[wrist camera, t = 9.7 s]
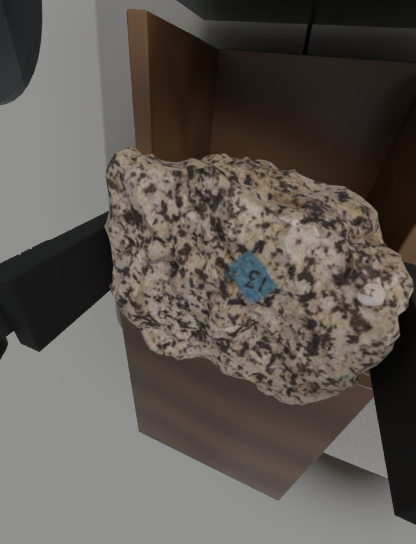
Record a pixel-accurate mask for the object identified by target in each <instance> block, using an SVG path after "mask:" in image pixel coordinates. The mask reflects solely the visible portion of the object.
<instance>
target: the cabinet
mask: <svg viewBox="0 0 416 544" xmlns="http://www.w3.org/2000/svg"><path fill="white" fill-rule="evenodd" d="M119 309H120V308H119ZM120 316H121V322H122V328H123V334H124V340H125V347H126V353H127V360H128V366H129V371H130V378H131V385H132V391H133V397H134V403H135V410H136V416H137V422H138V428H139V432H141V433H143V434H145V435H147V436H149V437H151V438H153V439H155V440H157V441H159V442H161V443H163V444H165V445H167V446H169V447H171V448H173V449H175V450H177V451H179V452H181V453H183V454H185V455H187V456H189V457H191V458H193V459H196V460H197V461H199V462H201V463H204V464H206V465H207V466H210V467H212V468H214V469H216V470H218V471H220V472H222V473H224V474H226V475H228V476H230V477H232V478H234V479H236V480H238V481H240V482H242V483H244V484H246V485H248V486H250V487H252V488H254V489H256V490H258V491H260V492H262V493H264V494H266V495H268V496H270V497H272V498H274V499H276V500H279V499H280V498H281V497H282V496H283V495H284V494H285V493H286V492H287V491H288V490H289V489H290V487H291V486H292V485H293V484H294V483H295V482H296V481H297V480H298V479H299V478H300V476H301V475H302V474H303V473H304V472H305V471H306V470H307V469H308V468H309V467H310V466H311V465H312V463H313V462H314V461H315V460H316V459H317V458H318V457H319V456H320V455H321V454H322V453H323V452H324V450H325V449H326V448H327V447H328V446H329V445H330V444H331V443H332V442H333V441H334V440H335V439H336V437H337V436H338V435H339V434H340V433H341V432H342V431H343V430H344V429H345V428H346V427H347V425H348V424H349V423H350V422H351V421H352V420H353V419H354V418H355V417H356V416H357V415H358V414H359V412H360V411H361V410H362V409H363V408H364V407H365V406H366V405H367V404H368V403H369V402H370V400H371V399H372V398H373V397H374V394H373V389H372V383H371V377H370V372H369V370H366V371H364V372H362V373H360V374H358V385H357V386H356V387H353V388H351V389H348V390H346V391H344V392H342V393H341V394H339V395H335V396H332V397H330V398H327V399H326V400H325V401H324V402H323V403H317V402H312V403H306V404H304V405H299V404H293V405H290V404H286V403H283V402H280V401H279V400H278V399H276V398H275V397H274V396H273V395H265V394H264V393H263V392H261V391H260V390H258V388H257V385H256V384H255V383H253V382H251V381H249V380H246V379H240V378H236V377H232V376H229V375H226V374H223V373H222V372H221V371H220V370H219V368H218V367H217V366H216V365H215V364H214V363H213V362H212V361H211V360H210V359H208V358H202V357H196V358H194V359H181V360H179V361H178V360H177V359H175V358H174V357H172V356H166V355H165V354H161V355H159V354H157V353H155V352H153V351H151V350H150V349H149V347H148V345H147V343H146V342H145V340H144V338H143V335H142V333H141V331H140V330H138V329H136V326H135V325H133V324H132V323H131V322H130V321H129V320H128V319H127V318H126V317H125V316H124V315H123V313H122V311H121V310H120Z"/></svg>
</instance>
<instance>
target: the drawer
mask: <svg viewBox="0 0 416 544" xmlns="http://www.w3.org/2000/svg"><path fill="white" fill-rule="evenodd" d="M177 1H178V2H180V3H181V4H182V5H184V6H185V7H187V8H188V9H189V10H191V11H192V12H194V13H195V14H196V15H198V16H199V17H201V18H202V19H203V20H216V21H241V22H266V23H292V24H317V25H342V26H368V27H393V28H416V0H177ZM127 24H128V39H129V53H130V67H131V82H132V96H133V110H134V125H135V139H136V149H137V150H138V151H139V152H140V153H141V154H143V155H149V154H153V155H154V156H155V157H156V158H158V159H160V160H164V161H169V162H180V161H185V160H189V159H190V158H194V159H197V160H200V159H202V158H204V157H206V156H208V155H213V154H219V155H221V154H223V153H224V154H226V155H228V156H230V157H232V158H237V159H243V158H245V157H246V156H247V157H248V158H249V159H251V160H252V161H253V162H254V161H256V160H265V161H268V162H271V163H272V164H273V165H274V166H275V167H277V168H278V169H279V170H284V171H287V170H293V169H295V170H296V172H297V173H298V174H300V175H302V176H305V177H307V178H309V179H311V180H314V181H317V182H321V183H325V184H329V185H335V186H345V187H346V188H347V189H348V190H350V191H352V192H354V193H355V194H357V195H359V196H361V197H362V198H363V199H364V200H366V201H367V202H368V203H369V204H370V205H371V206H372V207H373V208H374V209H375V210H376V211H377V212H378V222H379V225H380V230H381V234H382V238H383V242H384V243H385V244H386V245H387V246H388V248H390V249H392V250H393V251H395V252H397V253H398V254H400V255H402V258H403V261H404V262H406V263H411V264H416V62H407V61H392V60H378V59H363V58H348V57H333V56H319V55H304V54H289V53H275V52H260V51H245V50H230V49H218V48H216V47H214V46H212V45H210V44H208V43H206V42H205V41H203V40H201V39H199V38H197V37H195V36H193V35H191V34H190V33H188V32H186V31H184V30H182V29H180V28H178V27H176V26H175V25H173V24H171V23H169V22H167V21H165V20H163V19H161V18H160V17H158V16H156V15H154V14H152V13H150V12H148V11H146V10H133V9H129V10H127Z"/></svg>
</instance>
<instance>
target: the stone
mask: <svg viewBox="0 0 416 544" xmlns="http://www.w3.org/2000/svg"><path fill="white" fill-rule="evenodd" d="M106 181H107V187H108V192H109V197H110V208H109V214H108V218H107V222H106V224H105V226H104V227H105V229H106V232H107V234H108V236H109V240H110V244H111V251H112V259H113V264H114V267H113V272H112V274H113V276H112V277H111V278H112V279H113V282H112V283H111V284H110V285H109V287H110V289H111V292H112V294H113V295H114V297H115V299H116V301H117V304H118V306H119V308H120V310H121V311H122V313H123V315H124V316H125V317H126V318H127V319H128V320H129V321H130V322H131V323H132V324H133V325H135V326H136V329H138V330H140V331H141V333H142V335H143V338H144V340H145V342H146V343H147V345H148V347H149V349H150V350H151V351H153V352H155V353H157V354H159V355H161V354H165V355H166V356H172V357H174V358H175V359H177V360H178V361H179V360H181V359H194V358H196V357H202V358H208V359H210V360H211V361H212V362H213V363H214V364H215V365H216V366H217V367H218V368H219V370H220V371H221V372H222V373H223V374H226V375H229V376H232V377H236V378H240V379H246V380H249V381H251V382H253V383H255V384H256V385H257V388H258V390H260V391H261V392H263V393H264V394H265V395H273V396H274V397H275V398H276V399H278V400H279V401H280V402H283V403H286V404H290V405H293V404H299V405H304V404H306V403H312V402H317V403H323V402H324V401H325V400H326V399H327V398H330V397H332V396H335V395H339V394H341V393H342V392H344V391H346V390H348V389H351V388H353V387H356V386H357V385H358V374H360V373H362V372H364V371H366V370H369V369H371V368H373V367H375V366H377V365H378V364H379V363H380V362H381V361H382V360H384V358H385V357H386V356H387V355H388V354H389V353H390V352H391V351H392V350H393V347H394V343H395V341H396V340H397V339H398V338H399V336H400V331H399V323H398V315H400V314H401V313H402V312H404V311H405V310H406V308H408V307H409V298H410V296H411V294H412V292H413V281H412V278H411V277H410V275H409V273H408V272H407V270H406V267H405V264H404V261H403V258H402V255H400V254H398V253H397V252H395V251H393V250H392V249H390V248H388V246H387V245H386V244H385V243H384V242H383V238H382V234H381V230H380V225H379V222H378V212H377V211H376V210H375V209H374V208H373V207H372V206H371V205H370V204H369V203H368V202H367V201H366V200H364V199H363V198H362V197H361V196H359V195H357V194H355V193H354V192H352V191H350V190H348V189H347V188H346V187H345V186H335V185H329V184H325V183H321V182H317V181H314V180H311V179H309V178H307V177H305V176H302V175H300V174H298V173H297V172H296V170H295V169H293V170H287V171H284V170H279V169H278V168H277V167H275V166H274V165H273V164H272V163H271V162H268V161H265V160H256V161H254V162H253V161H252V160H251V159H249V158H248V157H247V156H246V157H245V158H243V159H237V158H232V157H230V156H228V155H226V154H224V153H223V154H221V155H219V154H213V155H208V156H206V157H204V158H202V159H200V160H197V159H194V158H190V159H189V160H185V161H180V162H169V161H164V160H160V159H158V158H156V157H155V156H154V155H153V154H149V155H143V154H141V153H140V152H139V151H138V150H137V149H136V148H135V147H134V146H131V147H129V148H126V149H124V150H121V151H118V152H116V153H115V154H114V155H113V157H112V159H111V161H110V163H109V165H108V168H107V170H106Z"/></svg>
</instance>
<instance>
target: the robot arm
mask: <svg viewBox="0 0 416 544" xmlns="http://www.w3.org/2000/svg"><path fill="white" fill-rule="evenodd" d="M108 214H109V211H108V212H106V213H104V214H102V215H100V216H98V217H96V218H94V219H92V220H90V221H88V222H86V223H84V224H82V225H79V226H77V227H75V228H74V229H72V230H70V231H67V232H66V233H63V234H62V235H59V236H57V237H55V238H53V239H51V240H47V241H44V242H42V243H40V244H39V245H36V246H34V247H32V249H28V250H26V251H24V252H22V253H21V255H16V256H14V257H12V258H10V259H8V260H6V261H4V262H2V263H0V359H1V357H2V356H3V354H4V352H5V351H6V348H7V345H8V341H7V338H6V336H7V335H9V334H10V333H11V332H13V331H15V333H16V335H17V337H18V339H19V341H20V343H21V344H23V345H25V346H27V347H30V348H32V349H34V350H36V351H38V352H40V351H41V350H42V349H43V348H44V347H46V346H47V345H48V344H49V343H50V342H51V341H52V340H54V339H55V338H56V337H57V336H58V335H59V334H60V333H62V331H64V330H65V329H66V328H67V327H68V326H70V325H71V324H72V323H73V322H74V321H75V320H76V319H77V318H79V317H80V316H81V315H82V314H83V313H84V312H85V311H87V310H88V309H89V308H90V307H91V306H92V305H94V304H95V303H96V302H97V301H98V300H99V299H100V298H102V297H103V296H104V295H105V294H106V293H107V292H108V291H110V290H111V289H110V287H109V285H110V284H111V283H112V282H113V279H112V278H111V277H112V276H113V274H112V272H113V267H114V264H113V259H112V251H111V244H110V240H109V236H108V234H107V232H106V229H105V227H104V226H105V224H106V222H107V218H108ZM404 264H405V267H406V270H407V272H408V273H409V275H410V277H411V278H412V281H413V292H412V294H411V296H410V298H409V307H408V308H406V310H405V311H404V312H402V313H401V314H400V315H398V323H399V331H400V336H399V338H398V339H397V340H396V341H395V343H394V347H393V350H392V351H391V352H390V353H389V354H388V355H387V356H386V357H385V358H384V360H382V361H381V362H380V363H379V364H378V365H377V366H375V367H373V368H371V369H369V372H370V377H371V383H372V389H373V394H374V400H375V406H376V412H377V417H378V423H379V429H380V434H381V440H382V446H383V451H384V457H385V463H386V468H387V474H388V480H389V485H390V491H391V497H392V502H393V508H394V514H395V515H396V516H398V517H401V518H402V519H404V520H407V521H409V522H411V523H413V524H415V525H416V265H415V264H411V263H406V262H404Z"/></svg>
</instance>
